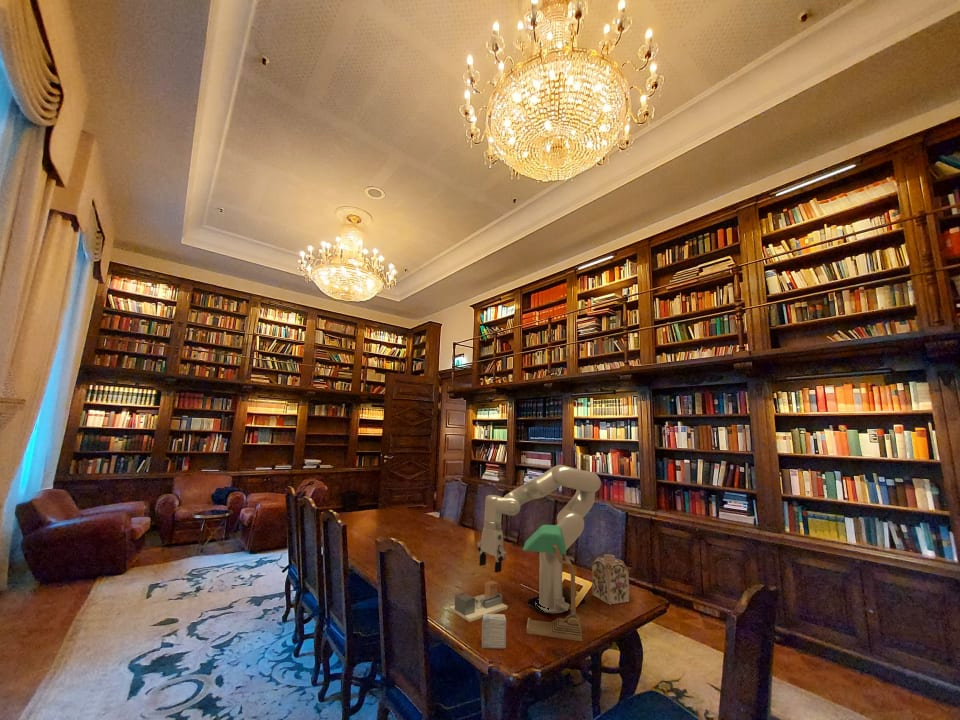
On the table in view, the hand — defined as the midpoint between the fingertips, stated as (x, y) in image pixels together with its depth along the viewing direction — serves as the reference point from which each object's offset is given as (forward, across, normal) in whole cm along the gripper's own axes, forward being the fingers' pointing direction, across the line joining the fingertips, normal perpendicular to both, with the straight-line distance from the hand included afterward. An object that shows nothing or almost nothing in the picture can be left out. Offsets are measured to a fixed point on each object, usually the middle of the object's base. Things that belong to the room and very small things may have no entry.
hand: (490, 568), depth 159 cm
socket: (+13, -1, +13) cm, 19 cm away
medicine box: (+14, -25, +20) cm, 35 cm away
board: (+14, -1, +6) cm, 15 cm away
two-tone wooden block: (+13, -1, +2) cm, 13 cm away
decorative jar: (+13, -26, -50) cm, 58 cm away
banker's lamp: (+14, -30, -4) cm, 33 cm away
